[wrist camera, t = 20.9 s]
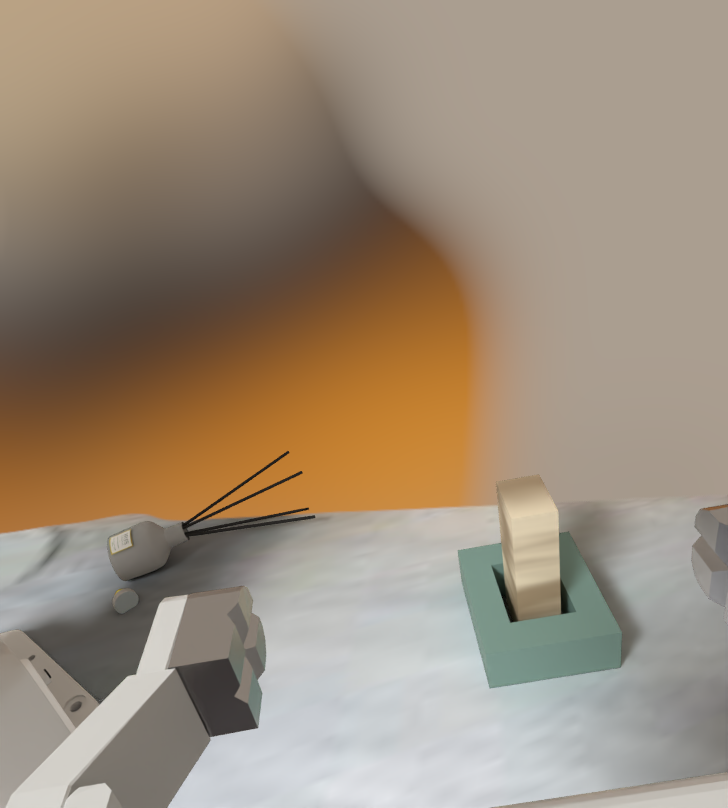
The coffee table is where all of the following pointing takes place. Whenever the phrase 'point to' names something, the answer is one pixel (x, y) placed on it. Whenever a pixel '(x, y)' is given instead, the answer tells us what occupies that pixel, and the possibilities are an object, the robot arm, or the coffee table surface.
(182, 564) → the coffee table surface
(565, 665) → the sage square frame
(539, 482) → the light wooden block
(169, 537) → the reed diffuser
